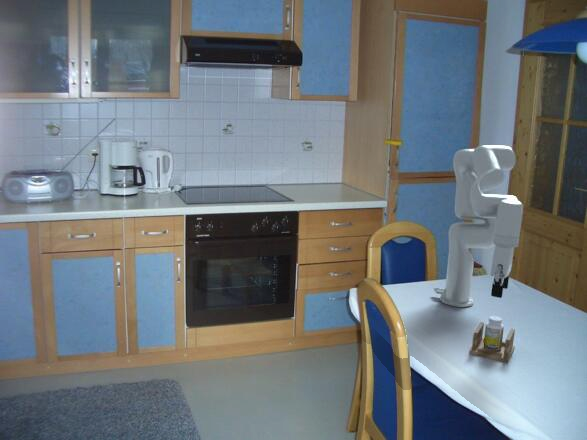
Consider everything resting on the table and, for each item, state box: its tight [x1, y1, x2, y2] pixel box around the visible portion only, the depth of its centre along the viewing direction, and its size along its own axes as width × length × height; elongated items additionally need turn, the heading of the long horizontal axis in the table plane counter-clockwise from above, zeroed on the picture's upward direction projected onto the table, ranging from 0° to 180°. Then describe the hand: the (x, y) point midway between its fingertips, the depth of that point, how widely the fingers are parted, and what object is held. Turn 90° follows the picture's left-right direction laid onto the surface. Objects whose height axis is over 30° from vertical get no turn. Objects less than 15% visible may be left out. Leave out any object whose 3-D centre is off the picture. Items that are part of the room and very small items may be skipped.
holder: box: [468, 321, 516, 364], centre depth 205 cm, size 12×12×7 cm
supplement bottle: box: [483, 315, 505, 351], centre depth 204 cm, size 6×6×10 cm
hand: (499, 292), depth 201 cm, fingers open, 9 cm apart
